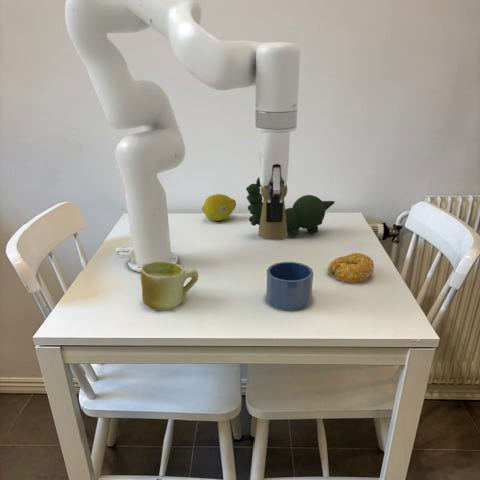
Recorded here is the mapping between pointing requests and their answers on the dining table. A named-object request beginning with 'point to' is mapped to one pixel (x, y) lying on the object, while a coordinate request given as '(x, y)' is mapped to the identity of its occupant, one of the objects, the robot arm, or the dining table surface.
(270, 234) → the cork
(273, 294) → the crock
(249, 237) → the dining table surface
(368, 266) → the bagel
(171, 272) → the mug
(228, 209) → the lemon
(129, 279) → the dining table surface
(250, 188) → the toy figurine
